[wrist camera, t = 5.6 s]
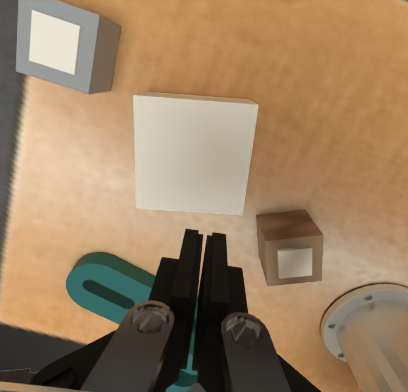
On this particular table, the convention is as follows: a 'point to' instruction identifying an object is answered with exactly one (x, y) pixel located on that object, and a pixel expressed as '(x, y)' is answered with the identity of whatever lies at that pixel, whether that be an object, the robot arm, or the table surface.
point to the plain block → (192, 152)
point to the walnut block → (289, 247)
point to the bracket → (119, 296)
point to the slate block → (66, 45)
